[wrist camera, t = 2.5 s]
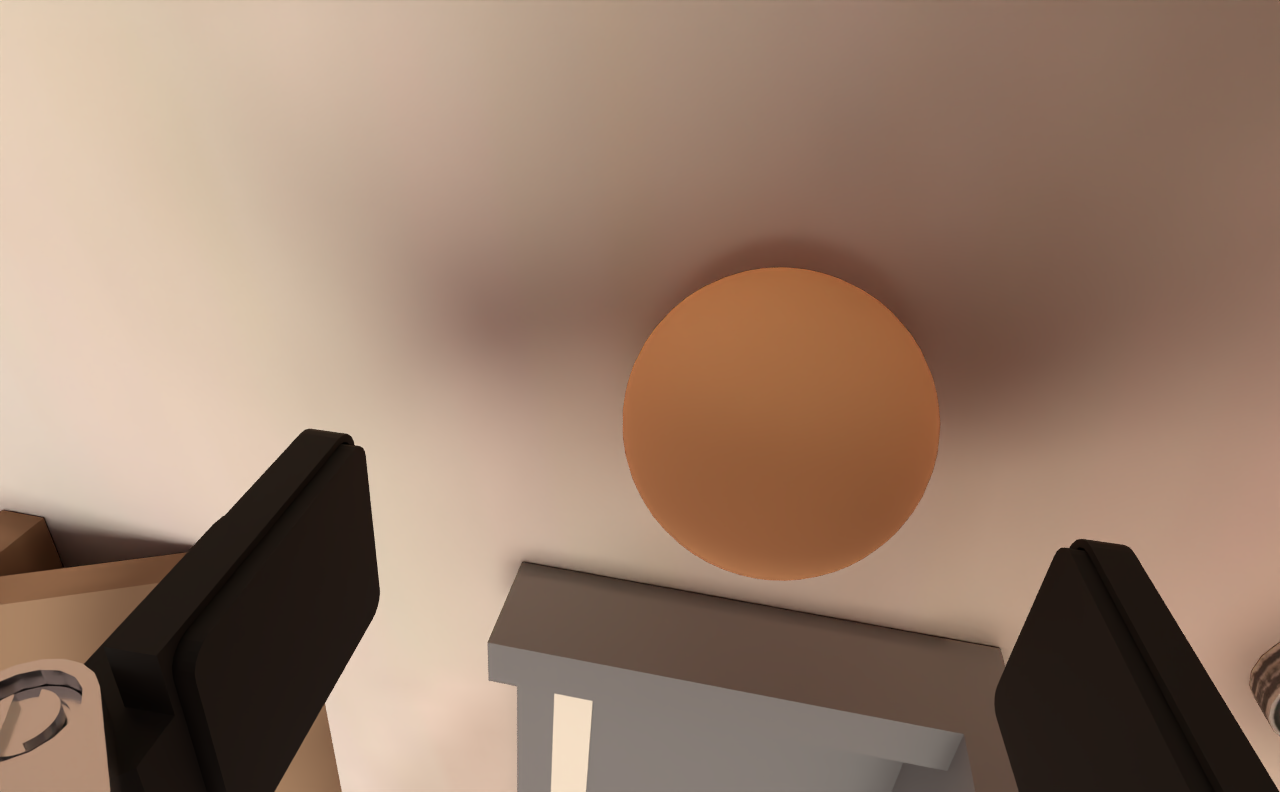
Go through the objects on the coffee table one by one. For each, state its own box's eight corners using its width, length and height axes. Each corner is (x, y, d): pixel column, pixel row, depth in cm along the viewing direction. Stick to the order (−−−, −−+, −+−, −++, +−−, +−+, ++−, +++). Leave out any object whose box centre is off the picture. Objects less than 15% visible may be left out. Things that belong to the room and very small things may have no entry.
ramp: (317, 540, 21) (197, 696, 17) (362, 806, 28) (283, 968, 23) (19, 486, 22) (-164, 621, 18) (129, 755, 29) (11, 903, 24)
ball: (952, 244, 14) (1019, 393, 10) (882, 479, 16) (911, 677, 12) (661, 206, 14) (601, 331, 10) (639, 439, 17) (584, 616, 13)
